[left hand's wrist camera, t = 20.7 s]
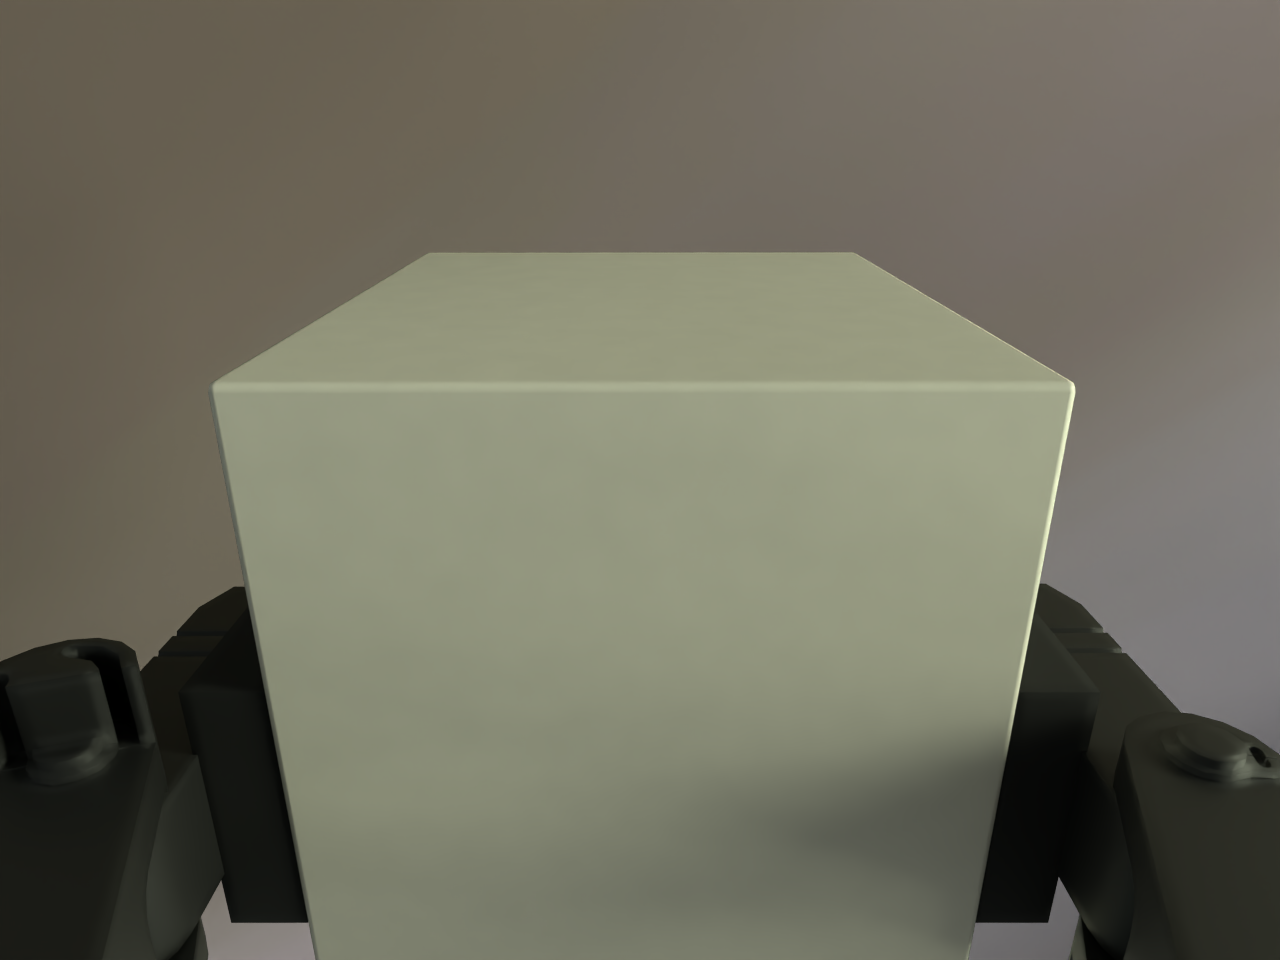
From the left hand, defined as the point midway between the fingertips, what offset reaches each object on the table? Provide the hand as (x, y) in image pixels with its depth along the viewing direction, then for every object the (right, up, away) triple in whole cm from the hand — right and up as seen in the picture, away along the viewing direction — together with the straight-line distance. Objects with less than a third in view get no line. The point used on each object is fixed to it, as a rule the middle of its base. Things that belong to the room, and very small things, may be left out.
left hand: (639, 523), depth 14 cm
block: (0, 0, +1) cm, 1 cm away
